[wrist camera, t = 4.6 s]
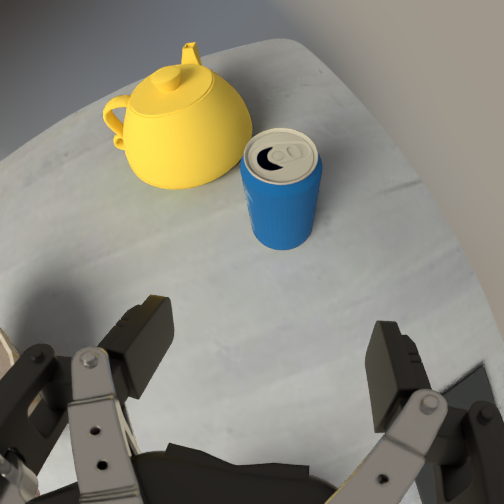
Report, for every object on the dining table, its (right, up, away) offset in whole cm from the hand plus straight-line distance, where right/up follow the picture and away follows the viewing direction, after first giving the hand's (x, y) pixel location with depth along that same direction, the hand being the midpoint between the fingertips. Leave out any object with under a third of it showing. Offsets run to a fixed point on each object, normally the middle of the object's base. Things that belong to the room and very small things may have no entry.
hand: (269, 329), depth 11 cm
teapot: (-10, +18, +28) cm, 35 cm away
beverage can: (+3, +6, +22) cm, 23 cm away
